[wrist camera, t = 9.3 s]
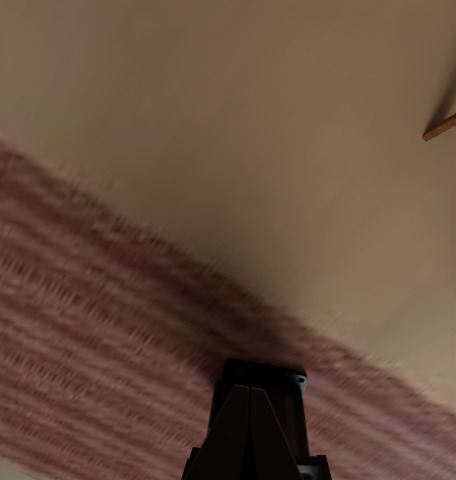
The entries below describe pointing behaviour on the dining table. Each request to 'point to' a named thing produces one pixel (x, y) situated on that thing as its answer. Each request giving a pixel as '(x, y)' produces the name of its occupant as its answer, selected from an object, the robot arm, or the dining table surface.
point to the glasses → (440, 128)
